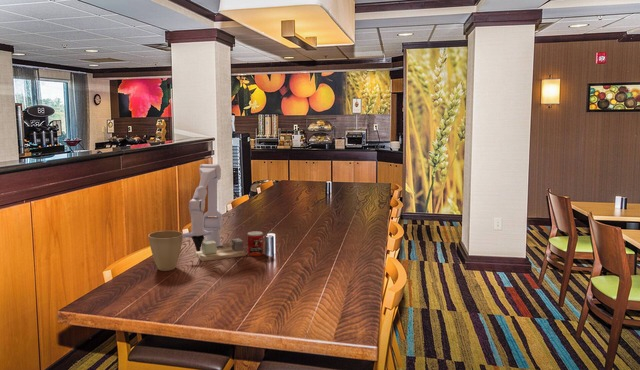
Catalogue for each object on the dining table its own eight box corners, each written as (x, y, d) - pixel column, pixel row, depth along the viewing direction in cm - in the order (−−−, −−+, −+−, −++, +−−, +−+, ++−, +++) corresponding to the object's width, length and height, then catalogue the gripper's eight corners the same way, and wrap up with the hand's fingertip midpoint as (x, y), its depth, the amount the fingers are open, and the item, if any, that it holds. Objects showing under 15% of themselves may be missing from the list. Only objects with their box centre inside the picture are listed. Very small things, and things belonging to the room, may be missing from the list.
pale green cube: (201, 251, 246) (201, 241, 245) (213, 250, 249) (213, 240, 248) (204, 254, 241) (204, 244, 241) (216, 252, 244) (216, 242, 244)
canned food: (248, 257, 244) (248, 235, 243) (246, 252, 252) (246, 231, 250) (264, 255, 246) (264, 234, 245) (261, 251, 254) (261, 230, 252)
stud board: (194, 254, 249) (194, 241, 248) (236, 248, 259) (236, 236, 258) (202, 261, 237) (201, 248, 236) (245, 255, 247) (245, 242, 246)
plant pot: (148, 274, 216) (147, 239, 214) (150, 265, 230) (149, 231, 228) (184, 272, 220) (183, 237, 218) (184, 262, 234) (182, 229, 232)
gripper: (184, 226, 234) (185, 254, 235) (214, 223, 240) (215, 251, 242) (180, 223, 240) (181, 251, 242) (210, 221, 246) (211, 247, 248)
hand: (198, 250), depth 242 cm, fingers closed
